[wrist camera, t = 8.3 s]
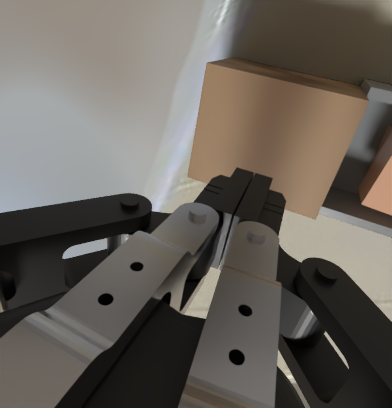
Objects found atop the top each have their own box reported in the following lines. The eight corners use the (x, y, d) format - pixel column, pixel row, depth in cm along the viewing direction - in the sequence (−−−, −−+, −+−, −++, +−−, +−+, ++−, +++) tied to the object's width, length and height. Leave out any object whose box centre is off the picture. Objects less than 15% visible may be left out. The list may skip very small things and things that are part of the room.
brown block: (213, 151, 26) (187, 176, 22) (233, 57, 23) (206, 62, 18) (318, 183, 24) (315, 219, 19) (360, 86, 20) (369, 100, 16)
